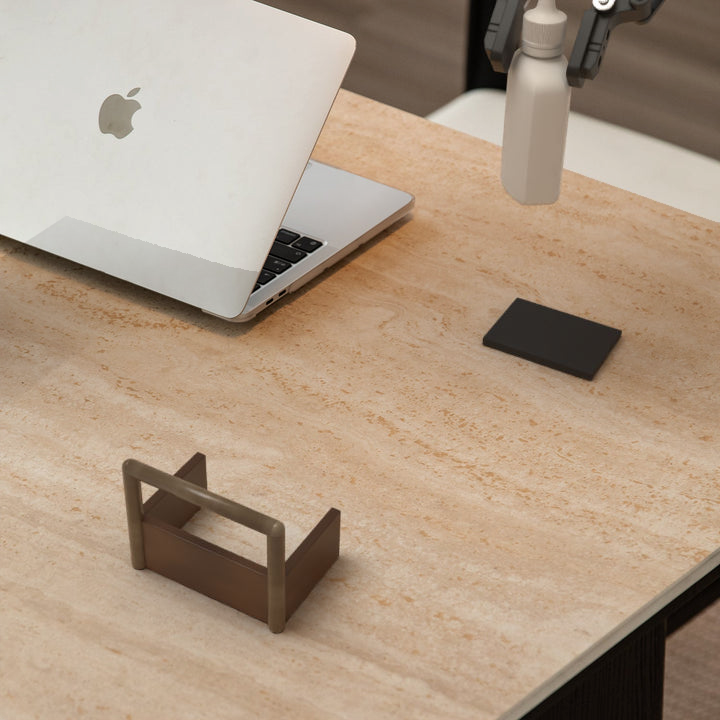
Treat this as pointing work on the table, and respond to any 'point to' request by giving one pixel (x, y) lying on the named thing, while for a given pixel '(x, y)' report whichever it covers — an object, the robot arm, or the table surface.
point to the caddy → (213, 563)
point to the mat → (553, 338)
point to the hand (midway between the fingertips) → (536, 73)
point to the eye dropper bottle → (537, 109)
